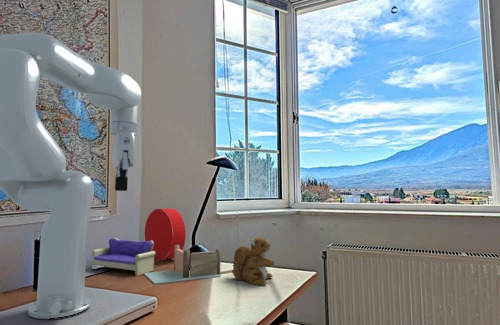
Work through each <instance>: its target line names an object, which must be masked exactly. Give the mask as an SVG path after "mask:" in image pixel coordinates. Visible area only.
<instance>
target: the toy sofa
mask: <svg viewBox="0 0 500 325" xmlns="http://www.w3.org/2000/svg"><path fill="white" fill-rule="evenodd" d="M153 245H154V242H153V241H145V240H143V241H141V240H139V241H135V240H126V239H125V240H122V239H118V238H117V237H111V238H109V240H108V246H109V247H102V248H97V249H92V250H91V255H92V258H91V260H92V262H91V266H92V265H100V266H104V268H113V269H120V270H129V271H134V276H135V277H136V276H137V277H138V276H141V275H144V273H150V272H154V270H155V259H154V255H155V254H156V253H155V251H152V249H153Z"/></svg>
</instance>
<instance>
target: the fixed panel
mask: <svg viewBox="0 0 500 325" xmlns="http://www.w3.org/2000/svg"><path fill="white" fill-rule="evenodd" d="M221 252H222V250H221V249H219V248H218V249H215V250H214V251H213V250H212V251H201V252H199V251H198V252H190V249H184V250H183V278H189V276H199V275H208V274H218V275H220V276H221V255H222V254H221ZM189 268H190V275H189Z"/></svg>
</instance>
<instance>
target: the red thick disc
mask: <svg viewBox="0 0 500 325" xmlns="http://www.w3.org/2000/svg"><path fill="white" fill-rule="evenodd" d="M145 221H146V222H145V225H144V241H153V242H154V245H153V249H152V251H155V253H156V254H155V255H154V258H155V259H158V260H161V261H165V260H166V259H167V260H171V259H172V258H173V259H174V247H175V245H179V249H181V250H183V249H184V247H185V244H186V243H185V242H186V236H187V235H186V234H187V232H186V225H185V221H184V218H183V217H182V215H181V214H180V212H179V211H178V210H177V209H176V208H170V207H169V208H156V209H153V210H152V211H151V212H149V215H148V216H147V219H146V220H145ZM155 259H154V260H155ZM158 260H157V261H158Z"/></svg>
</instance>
